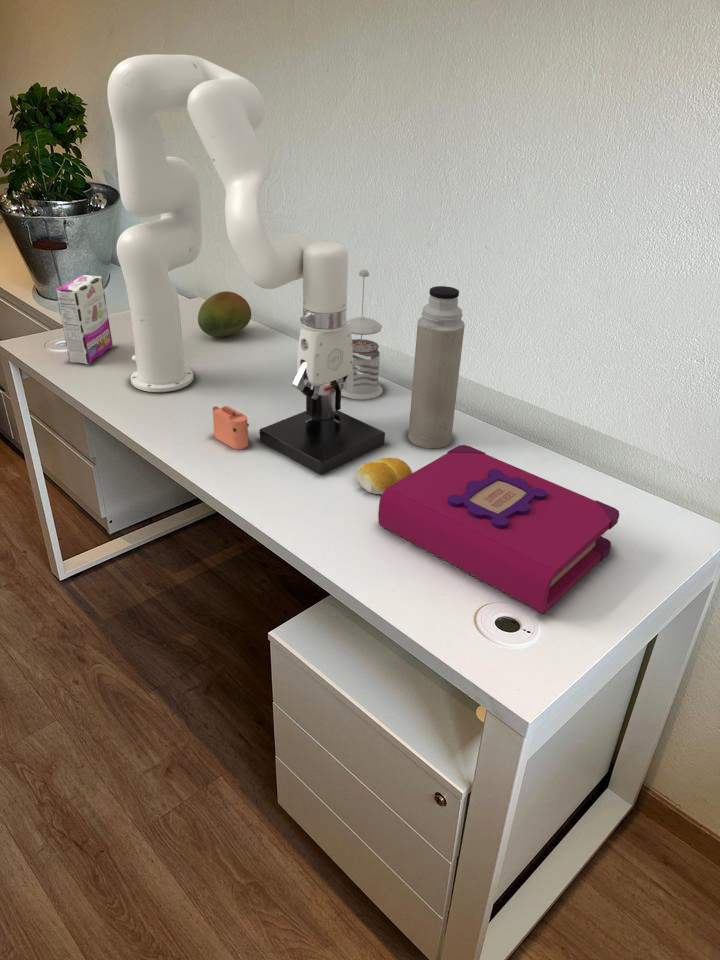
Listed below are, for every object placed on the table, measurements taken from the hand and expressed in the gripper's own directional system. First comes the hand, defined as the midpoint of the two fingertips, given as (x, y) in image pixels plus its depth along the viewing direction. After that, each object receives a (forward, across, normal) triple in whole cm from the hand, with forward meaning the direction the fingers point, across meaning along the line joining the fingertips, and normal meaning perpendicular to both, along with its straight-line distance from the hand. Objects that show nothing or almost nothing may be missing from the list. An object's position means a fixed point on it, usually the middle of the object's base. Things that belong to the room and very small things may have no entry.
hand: (323, 410), depth 137 cm
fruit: (+4, +15, +50) cm, 53 cm away
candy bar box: (+4, -15, +60) cm, 61 cm away
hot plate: (+3, -4, -4) cm, 7 cm away
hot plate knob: (+1, 0, 0) cm, 1 cm away
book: (+4, -6, -44) cm, 44 cm away
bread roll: (+4, -6, -22) cm, 23 cm away
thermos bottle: (+4, +12, -16) cm, 20 cm away
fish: (+3, -16, +8) cm, 18 cm away
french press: (+4, +16, +8) cm, 18 cm away
